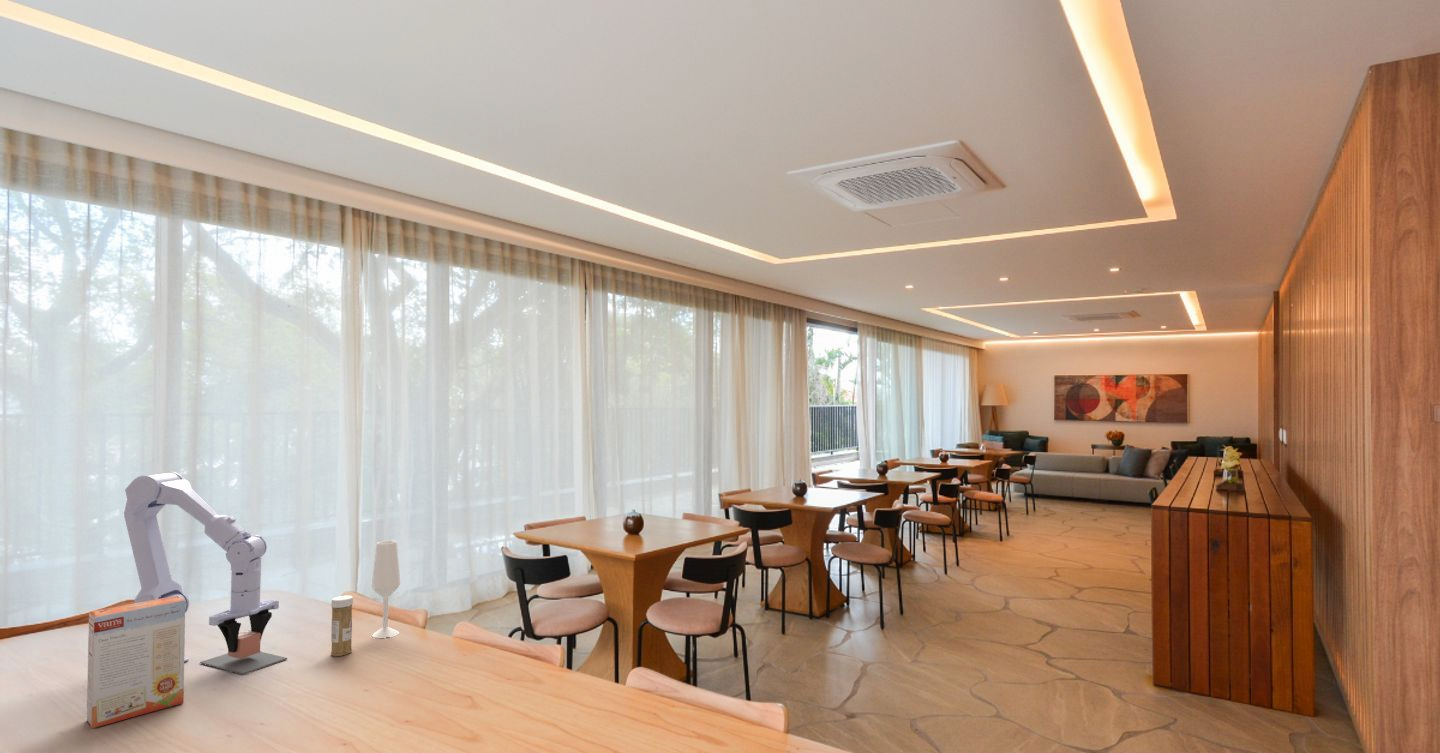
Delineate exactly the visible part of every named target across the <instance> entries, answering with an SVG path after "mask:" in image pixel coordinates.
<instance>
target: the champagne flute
mask: <svg viewBox="0 0 1440 753" xmlns="http://www.w3.org/2000/svg"><path fill="white" fill-rule="evenodd" d="M400 576H401V575H400V564H399V554H398V542H397V540H392V539H391V540H381V541H378V542H376V547H375V555H374V562H373V571H372V581H371V588H372V589H373V591H374V592H375V593H376V594H377V595H378V596H380V597H381V598H382V600H383V601H382V602H383V603H382V604H383V605H382V627H381V628H379V629H378V630H377V631H375V632H374V633H372V634H373V635H372V634H371V635H372V636H373V637H378V638H384V639H387V638H386V637H390V638H393V637H396V636H398V635H399V634H400V632H399V631H398V630H396V629H395V628H391V627H389V597H390V596H392V595H393V594H394V593H395V592H396V591H397V590H398V588H399V587H400V585H401V577H400Z"/></svg>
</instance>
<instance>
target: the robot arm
mask: <svg viewBox="0 0 1440 753" xmlns="http://www.w3.org/2000/svg"><path fill="white" fill-rule="evenodd" d="M124 492H125V496H126V503H125V507H124V508H125V509H124V512H123V514H124V516H123V517H124V521H125V526H126V529H127V533H128V538H129V542H130V547H131V550H132V555H133V559H134V563H135V566H136V570H137V575H138V579H139V584H140V587H141V589H140V590H139V592H138V594H137V595H136V597H134V598H135V599H134V600H133V601H134V603H140V602H145V601H151V600H157V599H162V598H168V597H173V596H179V597H181V598H182V599H184V600H185V614H186V613H187V612H188V610H189V608H190V599H189V597H188V596H187V594H185V592H184V591H183V589H182V586H181V584H180V583H178V582H176V581H175V580H173V579H172V575H171V571H170V568H169V563H168V559H167V554H166V552H165V551H166V550H165V548H164V547H165V546H164V543H163V538H162V535H161V530H160V526H159V522H158V518H157V515H158V514H159V512H160V511H161V510H162V509H163V508H164V506H166V505H173V506H174V505H175V506H177V507H179V508H180V509H182V510H183V511H184V512H185V513H187V514H188V515H190V517H192V518H194V519H195V520H196V521H198V522H200V524H202V525H203V526H204V534H205V535H206V536H207V537H208V538H209V539H211V540H212V541H213V542H214V543H215V544H217V545H218V546H219V547H220V548H221V549H222V550H224V551H225V557H226V560H227V561H228V563H230V564H229V565H230V571H231V574H230V575H231V577H230V578H231V579H230V607H229V609H226V610H224V611H222V612H219V613H216V614H213V615H209V617H208V625H209V626H213V627H216V626H217V627H218V628H219V630H220V631H221V633H222V635H223V637H224V640H225V642H226V647H227V651H229V652H237V648H238V634H239V633H240V628H241V626H242V623H241V622H237V621H238V619H242V618H245V617H248V618H249V621H250V622H249V623H250V631H253V632H258V633H261V638H260V642H261V640H262V636H263V635H264V632H265V629H266V627H267V625H268V623H269V622H270V619H271V618H272V617H273V613H272V612H270V610H277V609H279V608H280V605H279V604H280V602H279V601H280V600H278V599H271V600H267V601H261V585H262V584H261V583H262V582H261V580H262V578H261V576H262V557H263V556H264V555H265V553H266V552H267V542H266V541H265V539H264V538H263V537H262V536H261V535H259V534H252V533H251V531H250V530H246V529H245V528H243V527H242V526H241V525H240V524H239V523H238V522H236V521H237V518H235V516H232V515H231V516H229V515H228V514H218V512H216V511H215V510H214V509H213V508H212V507H211V505H209V504H208V503H207V502H206V501H205V500H204V499H203V498H202V497H201V496H200V495H199V494H198V493H197V492H196V491H195V490H194V489H193V488H192V486H191V483H190V481H189V480H187V479H185V478H184V477H183V476H182V475H181V474H180V473H178V472H176V471H168V472H163V473H156V474H150V475H141V476H138V477H135V478H134V479H133V480H132V481H131V482H130V483H129V484H128V486H127V487H126V488H125V490H124ZM134 603H133V604H134ZM189 660H190V658H189V657H185V656H184V663H185V662H188V661H189Z"/></svg>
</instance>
